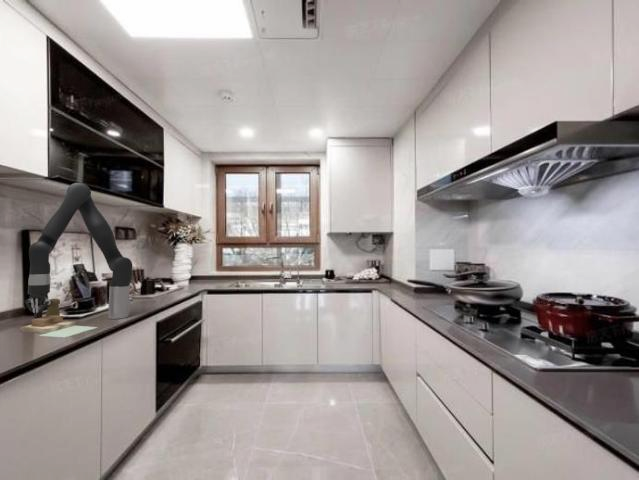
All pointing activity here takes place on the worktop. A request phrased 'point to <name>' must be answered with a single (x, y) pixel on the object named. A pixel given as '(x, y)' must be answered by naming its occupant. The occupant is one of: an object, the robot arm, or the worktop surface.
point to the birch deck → (48, 327)
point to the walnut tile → (47, 321)
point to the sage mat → (68, 331)
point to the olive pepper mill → (53, 308)
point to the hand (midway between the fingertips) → (37, 320)
